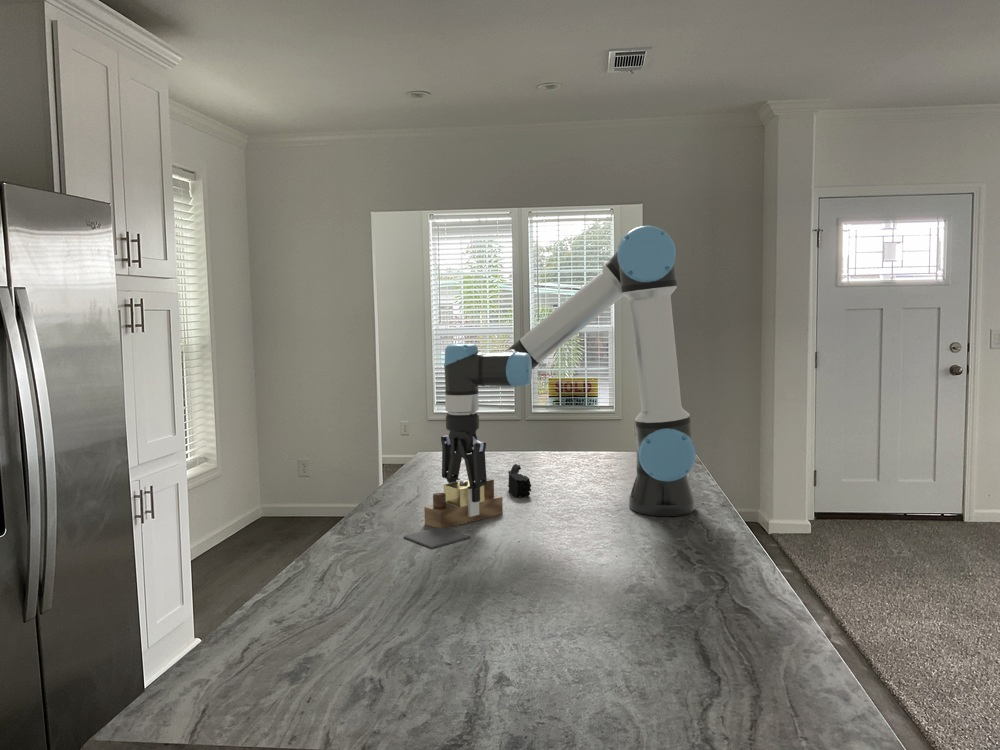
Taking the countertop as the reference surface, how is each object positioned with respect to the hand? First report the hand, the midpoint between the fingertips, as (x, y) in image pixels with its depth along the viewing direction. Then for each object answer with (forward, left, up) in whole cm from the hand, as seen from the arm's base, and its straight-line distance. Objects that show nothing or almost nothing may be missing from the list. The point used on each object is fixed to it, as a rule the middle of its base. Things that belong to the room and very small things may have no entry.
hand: (464, 512), depth 169 cm
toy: (+10, -26, -2) cm, 28 cm away
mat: (-7, +13, -1) cm, 15 cm away
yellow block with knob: (0, 0, +3) cm, 3 cm away
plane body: (0, 0, -1) cm, 1 cm away
